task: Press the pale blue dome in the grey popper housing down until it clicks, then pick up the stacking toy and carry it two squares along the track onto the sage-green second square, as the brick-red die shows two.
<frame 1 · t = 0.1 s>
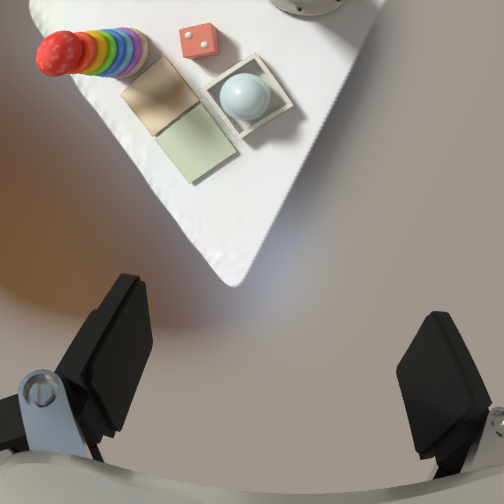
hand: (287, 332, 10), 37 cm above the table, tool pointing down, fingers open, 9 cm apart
second square: (195, 143, 42), on the table
stacking toy: (126, 53, 36), on the table
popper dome: (244, 96, 34), point 5 cm above the table, slide at 0.0 cm
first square: (159, 96, 39), on the table
popper housing: (248, 95, 38), on the table
die: (203, 43, 35), on the table
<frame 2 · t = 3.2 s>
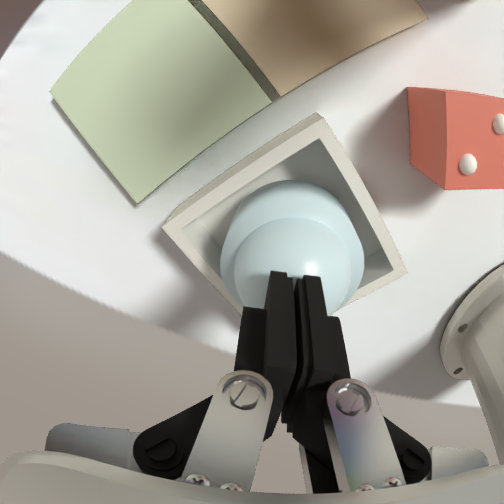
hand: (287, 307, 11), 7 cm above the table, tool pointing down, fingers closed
second square: (150, 88, 13), on the table
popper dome: (292, 268, 13), point 4 cm above the table, slide at 0.8 cm, touching gripper
popper housing: (290, 226, 16), on the table
die: (442, 126, 13), on the table
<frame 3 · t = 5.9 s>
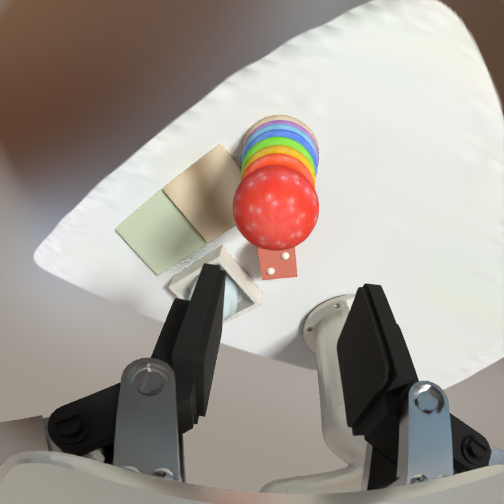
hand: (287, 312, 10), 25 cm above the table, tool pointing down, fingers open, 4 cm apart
second square: (159, 233, 39), on the table
stacking toy: (280, 149, 32), on the table
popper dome: (212, 302, 38), point 4 cm above the table, slide at 0.9 cm
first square: (214, 194, 35), on the table
popper housing: (217, 284, 42), on the table
die: (277, 245, 38), on the table
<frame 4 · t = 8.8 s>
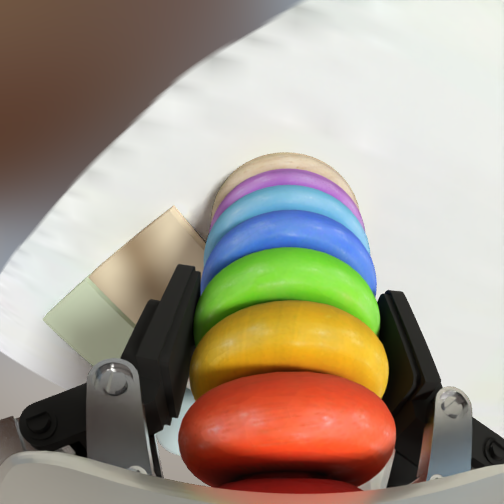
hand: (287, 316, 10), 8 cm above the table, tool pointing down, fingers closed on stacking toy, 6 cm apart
second square: (100, 331, 24), on the table
stacking toy: (285, 217, 18), on the table, touching gripper
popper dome: (182, 428, 24), point 4 cm above the table, slide at 0.9 cm
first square: (170, 288, 21), on the table
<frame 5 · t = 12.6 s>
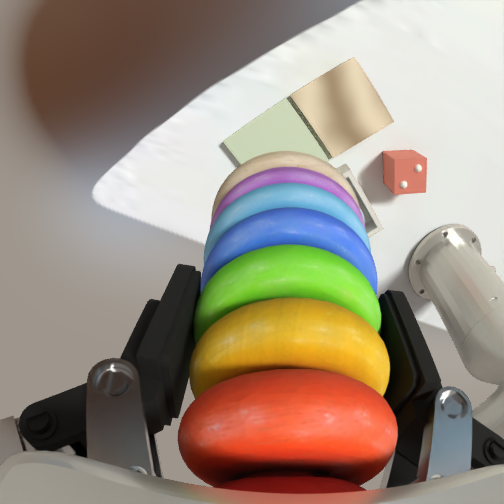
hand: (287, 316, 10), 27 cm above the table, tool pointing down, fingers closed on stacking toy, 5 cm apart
second square: (276, 148, 34), on the table
stacking toy: (285, 216, 18), point 19 cm above the table, touching gripper
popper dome: (338, 224, 34), point 4 cm above the table, slide at 0.9 cm
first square: (342, 106, 31), on the table
popper housing: (333, 210, 37), on the table
die: (398, 166, 34), on the table
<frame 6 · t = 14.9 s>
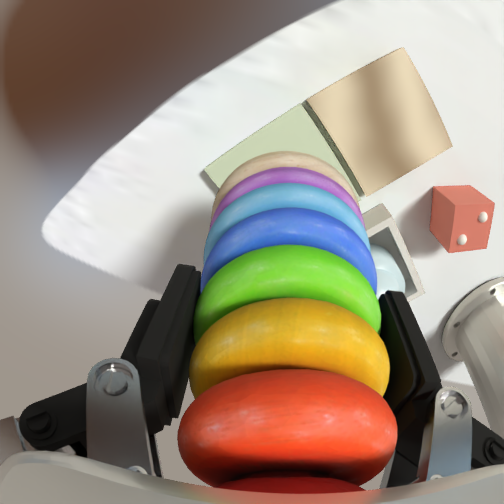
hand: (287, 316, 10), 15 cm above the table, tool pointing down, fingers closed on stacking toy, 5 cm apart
second square: (284, 180, 23), on the table
stacking toy: (285, 216, 18), point 7 cm above the table, touching gripper
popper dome: (369, 292, 23), point 4 cm above the table, slide at 0.9 cm
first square: (384, 120, 20), on the table
popper housing: (359, 265, 27), on the table
die: (450, 207, 23), on the table
when the fingers open (10 cm above the table, at t = 16.4 s): stacking toy drops 1 cm, resting on second square.
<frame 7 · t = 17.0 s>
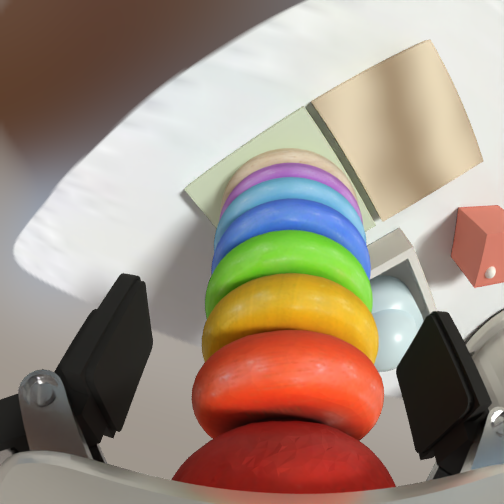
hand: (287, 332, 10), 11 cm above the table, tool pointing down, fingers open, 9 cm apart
second square: (283, 201, 19), on the table
stacking toy: (289, 208, 19), point 1 cm above the table, touching second square
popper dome: (381, 334, 19), point 4 cm above the table, slide at 0.9 cm
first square: (405, 128, 16), on the table
popper housing: (369, 298, 23), on the table
die: (475, 230, 19), on the table
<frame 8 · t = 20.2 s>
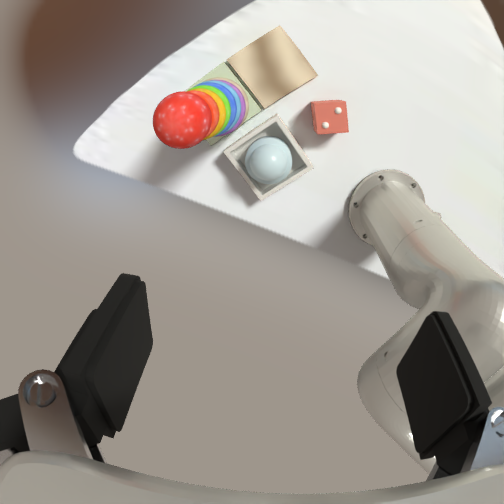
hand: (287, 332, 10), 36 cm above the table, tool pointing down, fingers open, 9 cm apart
second square: (217, 103, 39), on the table
stacking toy: (219, 105, 39), point 1 cm above the table, touching second square
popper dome: (268, 161, 39), point 4 cm above the table, slide at 0.9 cm
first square: (272, 66, 36), on the table
popper housing: (269, 155, 42), on the table
die: (326, 114, 39), on the table
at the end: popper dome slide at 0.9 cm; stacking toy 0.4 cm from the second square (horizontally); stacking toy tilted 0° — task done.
